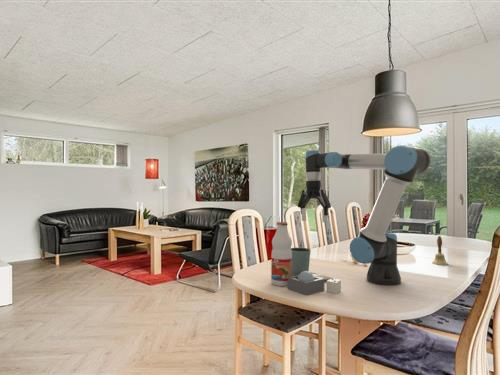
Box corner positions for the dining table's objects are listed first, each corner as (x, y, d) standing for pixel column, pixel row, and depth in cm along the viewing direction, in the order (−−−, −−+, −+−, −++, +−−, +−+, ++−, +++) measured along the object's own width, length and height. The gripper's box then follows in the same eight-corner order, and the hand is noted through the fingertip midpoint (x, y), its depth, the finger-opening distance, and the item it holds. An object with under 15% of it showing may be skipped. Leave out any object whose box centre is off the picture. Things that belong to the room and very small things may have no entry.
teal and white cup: (290, 270, 178) (290, 247, 178) (310, 271, 177) (310, 247, 177) (289, 275, 168) (289, 250, 168) (310, 276, 167) (310, 251, 167)
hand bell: (432, 264, 198) (432, 236, 198) (431, 261, 206) (431, 235, 206) (449, 265, 195) (449, 237, 195) (447, 263, 203) (447, 235, 203)
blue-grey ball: (317, 288, 148) (317, 271, 148) (306, 291, 144) (306, 273, 144) (305, 284, 154) (305, 268, 154) (294, 287, 149) (294, 270, 149)
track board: (332, 280, 164) (332, 277, 164) (314, 284, 156) (314, 282, 156) (296, 270, 184) (296, 267, 184) (277, 273, 176) (277, 271, 176)
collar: (324, 290, 148) (324, 278, 148) (306, 295, 141) (306, 283, 141) (305, 284, 156) (305, 273, 156) (287, 288, 150) (287, 277, 150)
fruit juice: (296, 283, 158) (296, 222, 158) (283, 287, 151) (283, 224, 151) (280, 279, 165) (280, 220, 164) (266, 283, 158) (267, 222, 158)
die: (340, 290, 147) (340, 280, 147) (336, 293, 144) (336, 282, 144) (331, 288, 150) (331, 278, 150) (326, 291, 146) (326, 280, 146)
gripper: (337, 179, 172) (338, 222, 172) (299, 181, 191) (300, 219, 191) (328, 179, 167) (329, 223, 167) (290, 181, 187) (291, 220, 186)
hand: (314, 221), depth 179 cm, fingers open, 13 cm apart
